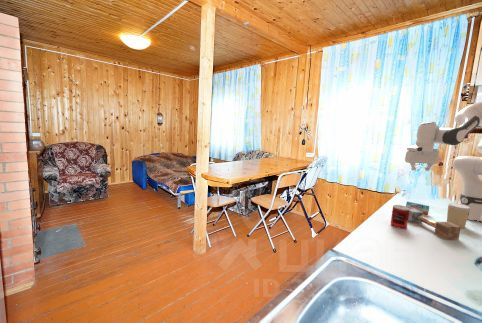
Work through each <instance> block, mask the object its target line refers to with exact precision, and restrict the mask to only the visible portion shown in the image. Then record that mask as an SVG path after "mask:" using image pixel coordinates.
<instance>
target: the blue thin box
mask: <svg viewBox="0 0 482 323" xmlns="http://www.w3.org/2000/svg"><path fill="white" fill-rule="evenodd" d="M405 206H406V207H408V208H410V209H417V210H419V211H422V212H423V216H428V215H429V212H430V205H426V204H422V203H416V202H412V201H408V200H407V201H406V204H405Z"/></svg>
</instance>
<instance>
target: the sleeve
mask: <svg viewBox="0 0 482 323" xmlns="http://www.w3.org/2000/svg"><path fill="white" fill-rule="evenodd" d="M419 216H423V217H424V215H423V212H422V211H419V210H417V209H410V211H409V218H408V223H411V224H417V223H419V224H422V223H423V222H421V221H419V220H418V217H419Z"/></svg>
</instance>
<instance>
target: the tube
mask: <svg viewBox="0 0 482 323" xmlns="http://www.w3.org/2000/svg"><path fill="white" fill-rule="evenodd" d="M418 220H419V221H421V222H422V223H423V224H426V225H427V226H430V227H432V228H436V222H437V221H434V220H431V219H429V218H427V217H425V216H424V215H423V216H419V217H418Z"/></svg>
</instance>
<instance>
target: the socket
mask: <svg viewBox="0 0 482 323" xmlns="http://www.w3.org/2000/svg"><path fill="white" fill-rule="evenodd" d="M435 222H436V228H435V229H434V235H435V236H437V237H439V238H441V239H443V240H445V241H447V240H448V241H450V240H452V241H454V240H455V241H457V240H459V239H460V234H461V230H462V228H461V227H460V226H458V225H455V224H453V223H450V222H447V221H435Z"/></svg>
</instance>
